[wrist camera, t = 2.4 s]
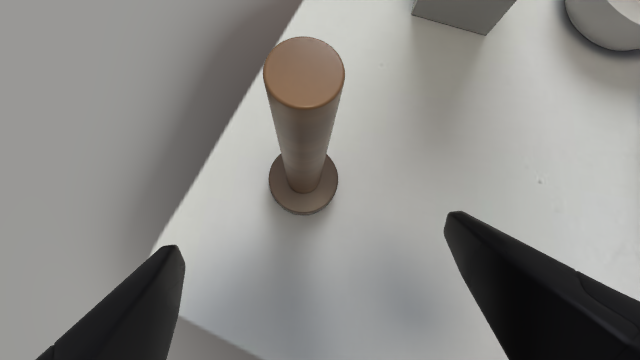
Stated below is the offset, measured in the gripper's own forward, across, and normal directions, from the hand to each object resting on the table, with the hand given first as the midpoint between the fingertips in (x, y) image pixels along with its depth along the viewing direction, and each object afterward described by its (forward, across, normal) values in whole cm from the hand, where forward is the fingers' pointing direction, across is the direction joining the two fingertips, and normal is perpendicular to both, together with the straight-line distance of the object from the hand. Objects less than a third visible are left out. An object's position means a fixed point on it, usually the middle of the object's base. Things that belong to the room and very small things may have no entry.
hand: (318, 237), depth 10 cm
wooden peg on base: (+11, 0, +5) cm, 12 cm away
